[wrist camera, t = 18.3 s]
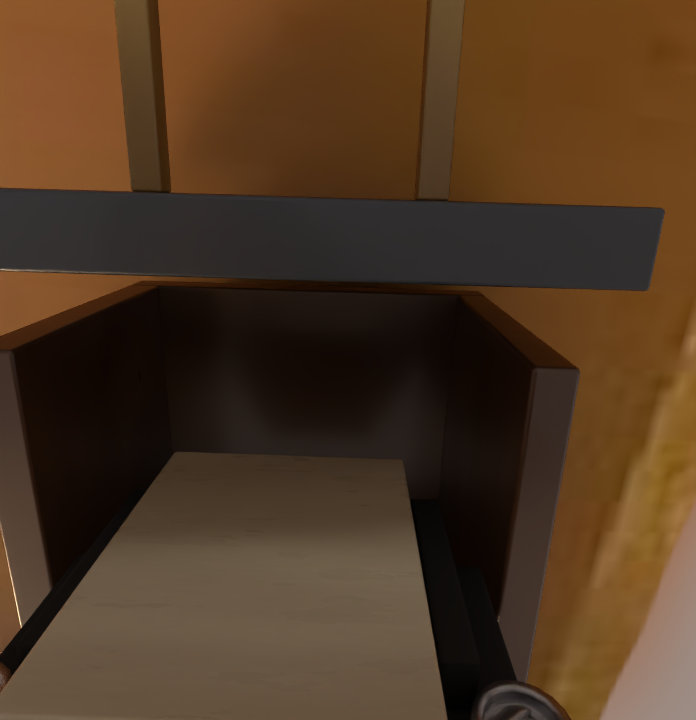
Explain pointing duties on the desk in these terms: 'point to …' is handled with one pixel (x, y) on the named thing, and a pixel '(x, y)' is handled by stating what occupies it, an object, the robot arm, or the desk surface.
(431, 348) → the drawer
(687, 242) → the desk surface
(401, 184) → the desk surface
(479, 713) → the robot arm
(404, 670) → the block
